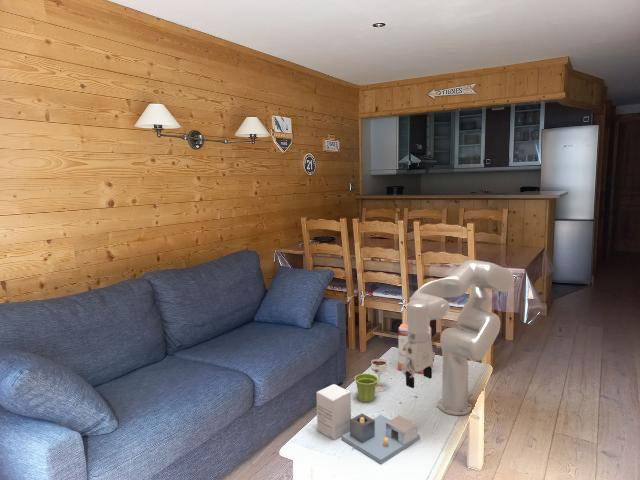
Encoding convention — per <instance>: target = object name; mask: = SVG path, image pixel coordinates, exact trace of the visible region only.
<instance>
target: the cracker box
mask: <svg viewBox="0 0 640 480" xmlns="http://www.w3.org/2000/svg"><path fill="white" fill-rule="evenodd" d="M407 338H408V327H407V324H406V323H401V324H400V326H399V327H398V338H397V339H398V342H397V343H398V347H397V348H398V351H397V352H398V354H397V357H398V358H397V363H398V364H397V370H398V371H402V369H401V367H402V366H403V365H404V363H405V362H406V347H407V341H408V339H407ZM430 338H431V339H432V327H431V326H430ZM411 368H412V367H411ZM411 372H412V370H410V371H409V373H411ZM415 373H416V374H422V375H424V374H423V370H421V371H419V372H416V371H415ZM415 373H414V374H415Z"/></svg>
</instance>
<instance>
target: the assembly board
mask: <svg viewBox="0 0 640 480" xmlns="http://www.w3.org/2000/svg"><path fill="white" fill-rule="evenodd" d="M372 419H373V420H375V437H373V438H371V439H369V440H368V441H366V442H364V443H361V442H359V441H358V440H356V439H355V438H353V437H351V436H350V431H349V432H347V433H346V434H344V435H342V436H341V441H343V442H345V443H346V444H348V445H350V446H351V447H353V448H354V449H356V450H358V451H359V452H360V453H362V454H364V455H365V456H367V457H368V458H369V459H372V460H373V461H375V462H376V463H378V464H379V465H382V464H383V463H385V462H387V461H389V460H390V459H391V458H393V457H394V456H396V455H397V454H399V453H401V452H402V451H404V450H406V449H407V448H409V447H410V446H411V445H413V444H414V443H416V442H418V441H419V440H420V439H421V435H420V434H418V433H417V437H416V438H414V439H413V440H411V441H410V442H408V443H407V444H405V445H403V444H401V443H400V442H398V434H397V435H395V436H394V437H392V438H391V437H389V436H387V435H386V422H388V421H390V420H391V419H390V418H388V417H386V416H384V415H382V414H379V415H377V416H376V417H374V418H372ZM360 423H364V418H363V417H361V418H360Z"/></svg>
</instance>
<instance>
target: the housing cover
mask: <svg viewBox="0 0 640 480" xmlns="http://www.w3.org/2000/svg"><path fill="white" fill-rule="evenodd" d="M397 434H398V442H400V443H401V444H403V445H405V444H407V443H408V442H410V441H411V440H413V439H414V438H416V437H417V434H418V424H417V423H415V422H413V421H411V420H409V419H408V418H405V417H403V416H401V415H397V416H395V417H394V418H392V419H390V421H388V422H386V435H387V436H389V437H391V438H392V437H394V436H395V435H397Z"/></svg>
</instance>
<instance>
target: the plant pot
mask: <svg viewBox="0 0 640 480" xmlns="http://www.w3.org/2000/svg"><path fill="white" fill-rule="evenodd" d="M354 381H355V383H356V389H357V394H358V395H357V396H358V399H359V401H361V402H362V403H366V402H373V401H374V400H375V393H376V391H375V388H376V386H377V384H378V382H379V378H378V376H376V375H374V374H373V373H372V374H371V373H359V374H357V375H356V376H355V377H354Z"/></svg>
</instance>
